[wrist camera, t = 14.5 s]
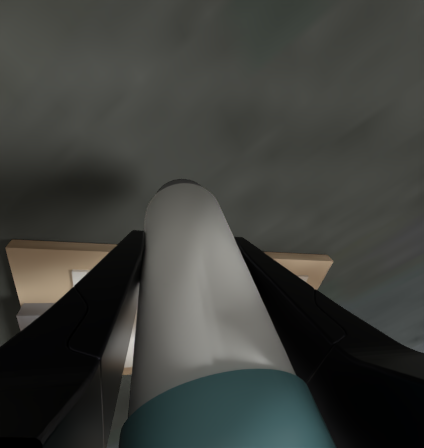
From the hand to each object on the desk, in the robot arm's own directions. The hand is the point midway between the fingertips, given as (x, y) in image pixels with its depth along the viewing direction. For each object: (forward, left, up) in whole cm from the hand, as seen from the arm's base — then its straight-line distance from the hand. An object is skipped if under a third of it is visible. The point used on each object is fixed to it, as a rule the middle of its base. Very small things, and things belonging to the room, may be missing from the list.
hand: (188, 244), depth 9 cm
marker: (0, 0, -3) cm, 3 cm away
